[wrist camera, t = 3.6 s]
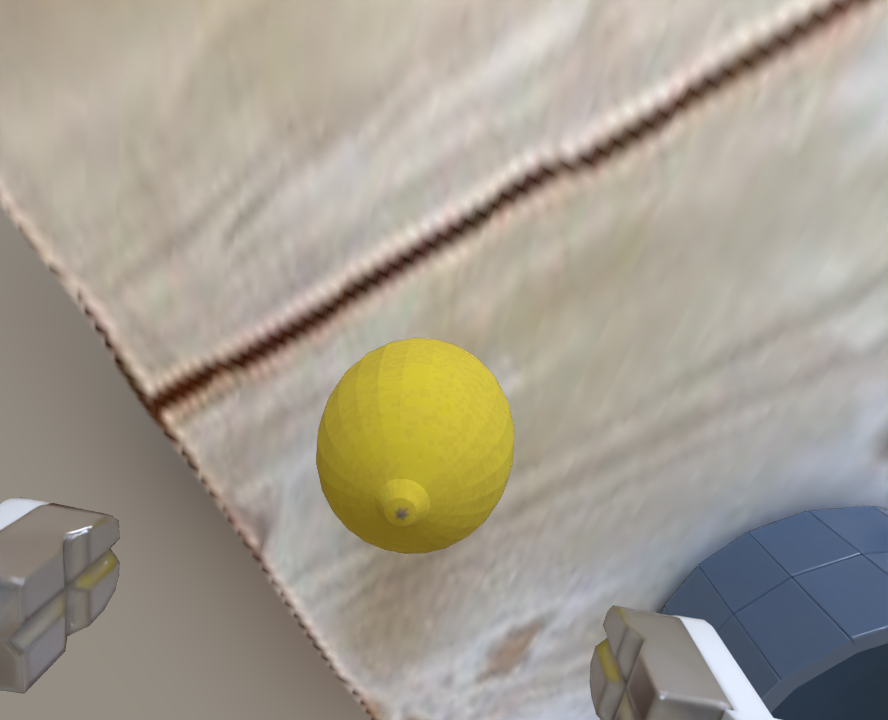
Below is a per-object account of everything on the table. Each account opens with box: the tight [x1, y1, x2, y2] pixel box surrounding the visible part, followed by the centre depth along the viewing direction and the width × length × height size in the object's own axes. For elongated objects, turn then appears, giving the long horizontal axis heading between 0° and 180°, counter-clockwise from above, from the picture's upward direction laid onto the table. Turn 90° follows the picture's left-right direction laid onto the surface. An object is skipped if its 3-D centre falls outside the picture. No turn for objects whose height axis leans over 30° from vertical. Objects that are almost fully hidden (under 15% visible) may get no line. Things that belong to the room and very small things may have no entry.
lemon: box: [316, 338, 514, 554], centre depth 13 cm, size 6×6×8 cm
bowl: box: [661, 506, 888, 720], centre depth 17 cm, size 14×14×6 cm
